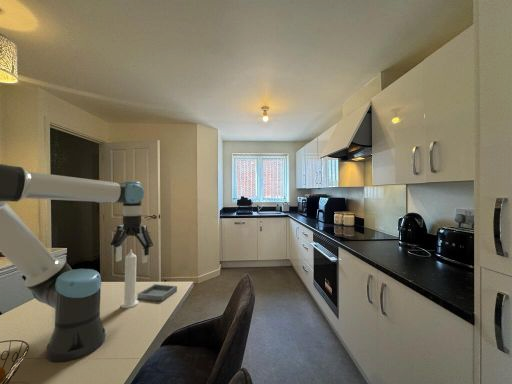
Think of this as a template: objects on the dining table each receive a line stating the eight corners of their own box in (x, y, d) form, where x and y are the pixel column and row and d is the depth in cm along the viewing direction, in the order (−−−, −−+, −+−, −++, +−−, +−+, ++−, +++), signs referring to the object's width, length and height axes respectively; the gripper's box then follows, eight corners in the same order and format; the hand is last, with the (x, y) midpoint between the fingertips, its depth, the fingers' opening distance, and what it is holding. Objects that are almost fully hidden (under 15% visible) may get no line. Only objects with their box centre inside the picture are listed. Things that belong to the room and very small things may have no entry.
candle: (133, 308, 101) (134, 250, 101) (117, 308, 101) (118, 250, 102) (141, 301, 108) (142, 247, 108) (126, 300, 108) (128, 247, 109)
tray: (161, 301, 107) (162, 296, 107) (137, 299, 110) (137, 293, 110) (176, 291, 120) (177, 286, 120) (154, 288, 122) (154, 284, 123)
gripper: (161, 214, 107) (161, 261, 106) (115, 214, 112) (114, 257, 111) (151, 216, 99) (150, 265, 99) (102, 215, 104) (101, 262, 104)
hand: (131, 261), depth 105 cm, fingers open, 13 cm apart
